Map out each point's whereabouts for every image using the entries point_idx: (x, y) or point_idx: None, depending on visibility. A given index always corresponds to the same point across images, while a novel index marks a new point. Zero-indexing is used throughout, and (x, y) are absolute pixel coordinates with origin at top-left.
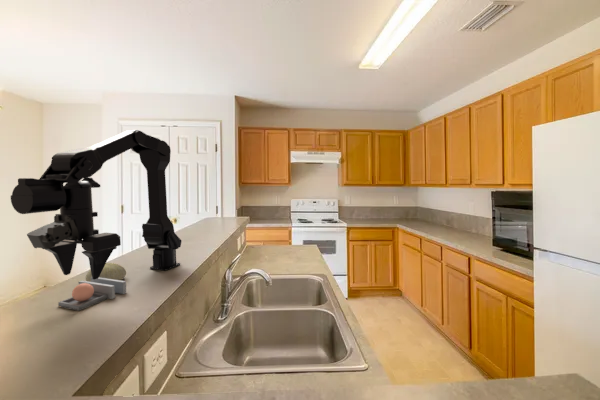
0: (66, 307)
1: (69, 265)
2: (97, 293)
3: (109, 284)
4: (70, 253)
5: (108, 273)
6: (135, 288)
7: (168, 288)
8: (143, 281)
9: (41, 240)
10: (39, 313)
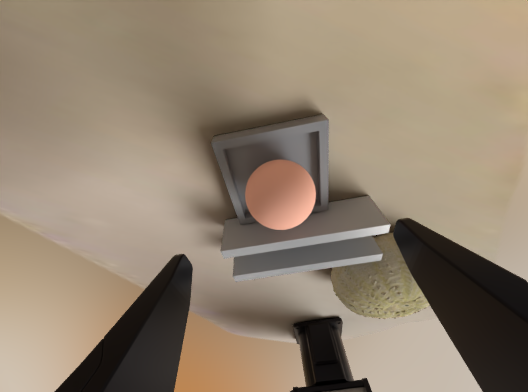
0: (278, 124)
1: (424, 278)
2: None
3: (289, 254)
4: (499, 382)
5: (351, 284)
6: None
7: None
8: (278, 289)
9: None
10: (330, 38)
